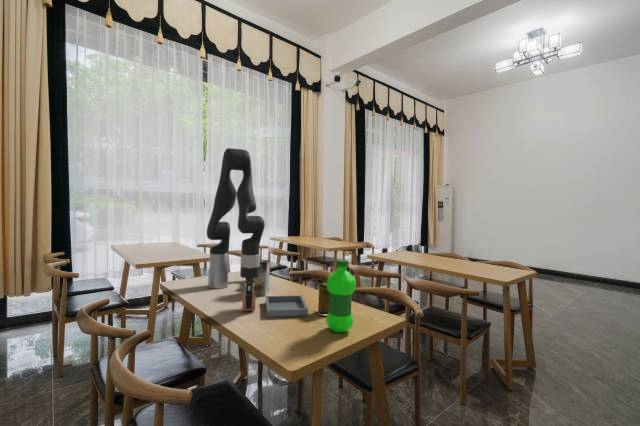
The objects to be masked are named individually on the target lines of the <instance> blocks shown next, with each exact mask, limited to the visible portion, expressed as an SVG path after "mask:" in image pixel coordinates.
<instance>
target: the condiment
mask: <svg viewBox="0 0 640 426" xmlns="http://www.w3.org/2000/svg"><path fill="white" fill-rule="evenodd" d="M319 286H320V287H319V290H318V308H317V309H314V310H313V311H314V312H315V311H316V312H318V313H320V314H328V313H329V306H330V292H329V291H328V290H327V281H325V282H320V285H319ZM316 312H315V313H316ZM318 313H317V314H318ZM320 314H318V315H319V316H320ZM321 317H322V318H324V317H323V316H321Z"/></svg>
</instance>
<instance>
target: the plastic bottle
mask: <svg viewBox="0 0 640 426" xmlns="http://www.w3.org/2000/svg"><path fill="white" fill-rule="evenodd" d="M335 262H336V264H335V266H337V269H336V270H335V271H334V272H332V273H331V275H329V277H328V278H327V280H326V282H327V290H328V291H329V292H330V306H329V313H328V315H327V317H325V319H326V320H325V322H326V325H327V327H328V328H330V329H331V331H332V330H333V331H332V332H334V331H335V332H334V333H336V332H345V333H347V332H348V331H349V330H350V329H351V328H352V327H353V325H354V315H353V313H352V301H353V299H352V297H353V295H352V294H354V293H355V290H356V285H357V281H356V278H355V277H354V276H353V275H352V274H351V273H350V272H349V271H348V270H347V267H349V260H347V259H336V261H335Z"/></svg>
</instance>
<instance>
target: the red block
mask: <svg viewBox="0 0 640 426" xmlns="http://www.w3.org/2000/svg"><path fill="white" fill-rule="evenodd" d="M247 296H251V295H250V294H248V295H247ZM256 296H257V295H256V292H253V294H252V308H251V309H246V299H245V297H246V294H245V291H243V292H242V301H241V303H242V304H241V306H242V308H241V310H242V312H244V311H245V312H246V311H256Z"/></svg>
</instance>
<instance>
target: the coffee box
mask: <svg viewBox="0 0 640 426" xmlns="http://www.w3.org/2000/svg"><path fill="white" fill-rule="evenodd" d="M270 267H271V261H270V260H269V259H268V260H267V259H260V265H259V276H258V277H256V278H253V280H254V292H256V295H255V296H263V297H266V296H268V293H269V292H270V290H269V289H270V277H269V273H270V269H271V268H270Z"/></svg>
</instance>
